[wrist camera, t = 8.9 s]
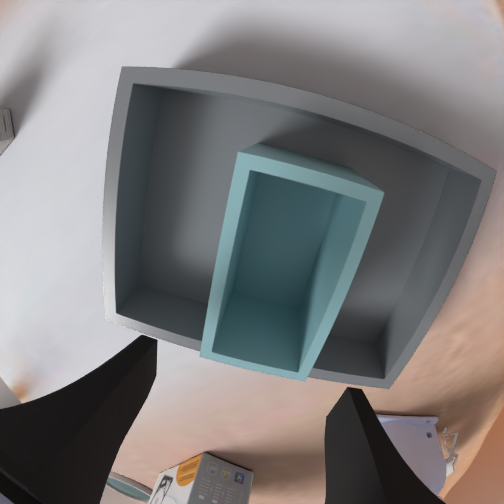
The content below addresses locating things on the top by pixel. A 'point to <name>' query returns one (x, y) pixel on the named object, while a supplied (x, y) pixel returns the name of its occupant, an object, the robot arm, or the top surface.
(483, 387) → the top surface
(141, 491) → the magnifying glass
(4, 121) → the padlock
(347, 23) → the top surface
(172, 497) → the hard drive box
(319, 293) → the teal mini crate
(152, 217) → the grey crate
